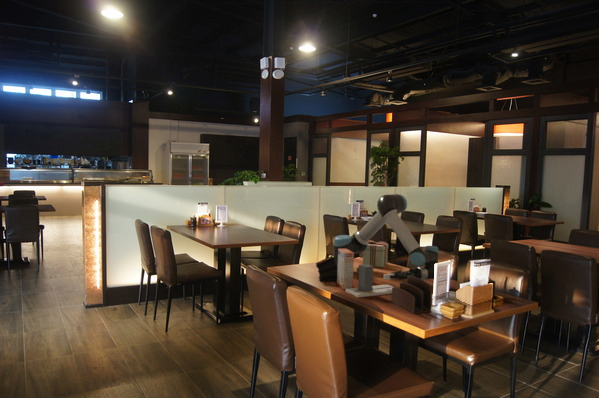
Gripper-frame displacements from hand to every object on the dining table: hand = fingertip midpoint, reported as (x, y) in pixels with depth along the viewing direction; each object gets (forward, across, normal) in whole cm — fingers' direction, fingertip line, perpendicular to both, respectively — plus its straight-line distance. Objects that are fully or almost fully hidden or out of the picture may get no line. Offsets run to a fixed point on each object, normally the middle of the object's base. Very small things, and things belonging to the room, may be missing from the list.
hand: (384, 277), depth 240 cm
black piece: (+20, +30, -8) cm, 37 cm away
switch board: (+7, 0, -8) cm, 11 cm away
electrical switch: (-3, +23, -8) cm, 24 cm away
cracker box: (+16, +15, -8) cm, 23 cm away
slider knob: (+13, 0, -6) cm, 14 cm away
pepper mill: (-46, -24, -8) cm, 53 cm away
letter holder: (+5, -28, -8) cm, 30 cm away
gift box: (-36, +61, -8) cm, 71 cm away
